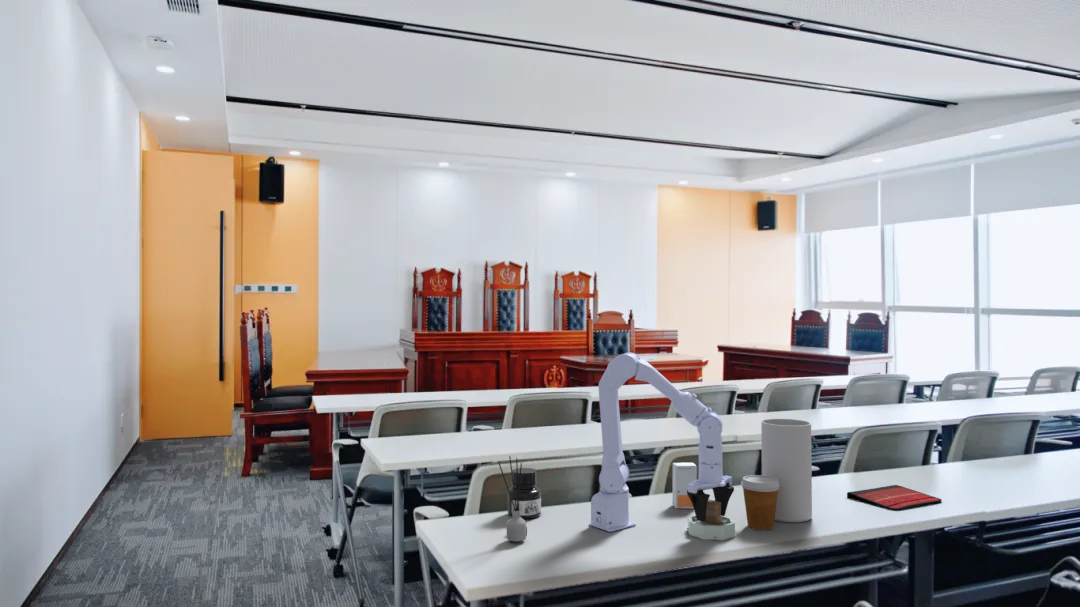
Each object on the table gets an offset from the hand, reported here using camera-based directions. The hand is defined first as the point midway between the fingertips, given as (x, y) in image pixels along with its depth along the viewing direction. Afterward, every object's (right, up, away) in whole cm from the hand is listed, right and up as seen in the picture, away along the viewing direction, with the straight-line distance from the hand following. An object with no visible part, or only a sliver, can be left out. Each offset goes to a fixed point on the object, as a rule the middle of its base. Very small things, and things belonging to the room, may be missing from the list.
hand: (710, 517), depth 174 cm
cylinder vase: (+23, -4, +14) cm, 28 cm away
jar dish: (0, -4, 0) cm, 4 cm away
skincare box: (-2, -4, +23) cm, 24 cm away
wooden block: (0, -3, 0) cm, 3 cm away
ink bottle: (-46, -4, +16) cm, 49 cm away
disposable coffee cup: (+14, -4, +5) cm, 15 cm away
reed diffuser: (-49, -4, -6) cm, 49 cm away
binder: (+60, -5, +30) cm, 67 cm away
